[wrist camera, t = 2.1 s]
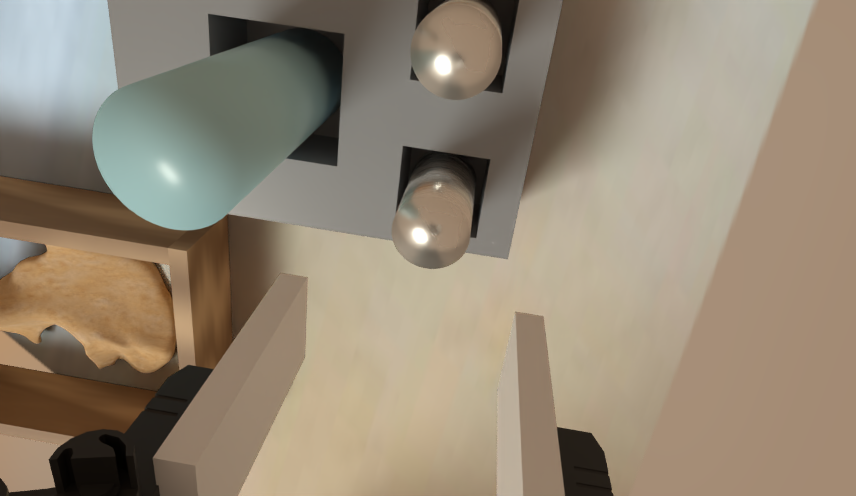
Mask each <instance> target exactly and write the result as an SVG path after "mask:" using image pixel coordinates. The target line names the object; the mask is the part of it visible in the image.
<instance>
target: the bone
mask: <svg viewBox="0 0 856 496" xmlns="http://www.w3.org/2000/svg"><path fill="white" fill-rule="evenodd" d="M45 245H46V244H45ZM46 247H47V252H45V253H43V254H41V255H38V256H33V257H28V258H26V259H24V260H22V261H20V262H19V263H18V264H17V265H16V266H15V268H14V270H13V271H12V272H10V273H9V274H7V275H6V276H4V277H3V278H2V279H0V331H6V332H12V333H17V334H21V335H23V336H25V337H27V338H28V339H29V340H30V341H32V342H33V343H36V344H39V343H40V342H41V337H40V335H41V333H42V332H43V330H44V329H46V328H47V327H49V326H51V325H54V324H56V325H58V326H60V327H62V328H64V329H65V330H67V331H68V332H69V333H71V334H72V335H73V336H74V337H75V338H76V339H77V340H78V341H79V342H80V343H81V344H82V345H83V346H84V348H85V352H86V355H87V356H88V357H89V358H90V359H91V360H92V361H93V362H94V363H95V364H96V366H97V367H98V368H99V369H102V368H104V367H106V366H110V365H114V364H115V361H116V360H117V359H124V360H125V361H127V362H128V363H129V364H130V365H131V366H132V367H133V368H134V369H136V370H137V371H139V372H142V373H152V372H154V371H157V370H159V369H160V368H161V367H162V366H164V365H165V364H166V363H168V362H169V361H170V360H171V358H172V357H173V354H174V351H175V346H176V330H175V319H174V308H173V299H172V297H171V295H170V293H169V291H168V290H167V288H166V286H165V284H164V282H163V279H162V277H161V275H160V273H159V271H158V269H157V267H156V266H155V265H154V264H153V262H149V261H143V260H137V259H131V258H125V257H119V256H113V255H107V254H101V253H94V252H88V251H82V250H76V249H70V248H64V247H58V246H52V245H46Z"/></svg>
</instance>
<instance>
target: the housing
mask: <svg viewBox="0 0 856 496" xmlns="http://www.w3.org/2000/svg"><path fill="white" fill-rule="evenodd" d="M444 1H445V0H108V8H109V17H110V25H111V33H112V41H113V50H114V58H115V66H116V74H117V83H118V89H120V88H122V87H124V86H127V85H129V84H132V83H135V82H138V81H141V80H143V79H146V78H149V77H152V76H155V75H158V74H161V73H164V72H167V71H169V70H172V69H175V68H178V67H181V66H184V65H187V64H190V63H192V62H195V61H198V60H201V59H204V58H207V57H210V56H213V55H215V54H218V53H221V52H224V51H227V50H230V49H233V48H236V47H238V46H241V45H244V44H247V43H250V42H253V41H256V40H259V39H261V38H264V37H267V36H270V35H273V34H276V33H279V32H282V31H284V30H287V29H292V28H306V29H311V30H314V31H317V32H319V33H321V34H323V35H324V36H326V37H327V38H328V39H329V40H331V41H332V42H333V43H334V44H335V45H336V47H337V48H338V49H339V51H340V52H341V54H342V56H343V70H342V89H341V106H340V107H339V108H338V109H337V110H336V111H335V112H334V113H333V114H332V115H331V116H330V117H329V118H328V119H327V120H326V121H325V122H324V123H323V124H322V125H321V126H320V127H318V128H317V129H316V130H315V131H314V132H313V133H312V134H311V135H310V136H309V137H308V138H307V139H306V140H305V141H304V142H303V143H302V144H301V145H299V146H298V147H297V148H296V149H295V150H294V151H293V152H292V153H291V154H290V155H289V156H288V157H287V158H286V159H285V160H284V161H283V162H282V163H280V164H279V165H278V166H277V167H276V168H275V169H274V170H273V171H272V172H271V173H270V174H269V175H268V176H267V177H266V178H265V179H264V180H263V181H261V182H260V183H259V184H258V185H257V186H256V187H255V188H254V189H253V190H252V191H251V192H250V193H249V194H248V195H247V196H246V197H245V198H244V199H242V200H241V201H240V202H239V203H238V204H237V205H236V206H235V207H234V208H233V209H232V210H231V211H230V212H229V213H228V214H231V215H237V216H243V217H249V218H255V219H262V220H268V221H274V222H280V223H286V224H292V225H299V226H305V227H311V228H317V229H323V230H330V231H336V232H342V233H348V234H354V235H361V236H367V237H373V238H379V239H385V240H392V241H393V239H392V223H393V220H394V217H395V215H396V212H397V210H398V207H399V205H400V202H401V200H402V197H403V195H404V192H405V190H406V187H407V185H408V183H409V180H410V178H411V175H412V173H413V170H414V168H415V166H416V164H417V162H418V161H419V159H420V158H421V157H422V156H424V155H425V154H426V153H428V152H430V151H440V152H446V153H453V154H459V155H464V156H465V157H466V158H467V159H468V160H469V161H470V162H471V164H472V166H473V168H474V170H475V174H476V187H475V196H474V205H473V215H472V224H471V234H470V241H469V245H468V248H467V250H466V251H465V252H466V253H472V254H478V255H484V256H491V257H497V258H503V259H508V256H509V251H510V246H511V242H512V237H513V232H514V228H515V223H516V218H517V214H518V209H519V204H520V200H521V195H522V190H523V185H524V181H525V176H526V171H527V167H528V162H529V157H530V153H531V148H532V143H533V139H534V134H535V129H536V125H537V120H538V115H539V110H540V106H541V101H542V96H543V92H544V87H545V82H546V78H547V73H548V68H549V64H550V59H551V54H552V49H553V45H554V40H555V35H556V31H557V26H558V21H559V17H560V12H561V7H562V3H563V0H487V1H489V2H490V3H491V4H492V5H493V7H494V8H495V9H496V11H497V13H498V15H499V17H500V21H501V27H502V59H501V64H500V68H499V70H498V73H497V75H496V77H495V78H494V80H493V81H492V83H491V84H490V85H489V86H488V87H487V88H486V89H485V90H484V91H482V92H481V93H479V94H478V95H476V96H473V97H471V98H468V99H463V100H449V99H444V98H441V97H438V96H436V95H435V94H433V93H431V92H430V91H428V90H427V89H426V88H425V87H424V86H423V85H422V84H421V82H420V81H419V80H418V78H417V76H416V74H415V72H414V70H413V67H412V63H411V55H410V50H411V42H412V38H413V35H414V33H415V30H416V29H417V27H418V25H419V24H420V22H421V21H422V20H423V19H424V18H425V17H426V16H427V15H428V14H429V13H430V12H432V11H433V10H434V9H435V8H436V7H438V6H439V5H440V4H441V3H443V2H444Z"/></svg>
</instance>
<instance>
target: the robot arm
mask: <svg viewBox="0 0 856 496" xmlns="http://www.w3.org/2000/svg"><path fill="white" fill-rule="evenodd" d="M307 282H308V277H303V276H297V275H291V274H285V273H280V274H279V276H278V277H277V279H276V280H275V281H274V283H273V284H272V286H271V287H270V289H269V290H268V292H267V293H266V295H265V296H264V297H263V299H262V300H261V302H260V303H259V305H258V306H257V308H256V309H255V310H254V312H253V313H252V315H251V316H250V318H249V319H248V321H247V322H246V323H245V325H244V326H243V328H242V329H241V331H240V332H239V334H238V335H237V337H236V338H235V339H234V341H233V342H232V344H231V345H230V347H229V348H228V350H227V351H226V352H225V354H224V355H223V357H222V358H221V360H220V361H219V363H218V364H217V365H216V367H215V368H214V369H210V368H204V367H199V366H193V365H187V366H185V367H184V368H182V369H181V370H179V371H178V372H176V373H175V374H173V375H172V376H170V377H168V379H167V380H166V381H165V382H164V384H163V385H162V386H161V388H160V389H159V390H158V391H157V393H156V394H155V397H153V398H152V399H151V400H150V402H149V403H148V404H147V405H146V407H145V410H144V411H142V412H141V413H140V414H139V416H138V417H137V418H136V419H135V421H134V422H133V423H132V424H131V426H130V427H129V428H128V430H127V431H126V432H125V433H122V432H120V431H118V430H108V429H100V430H94V431H88V432H85V433H83V434H80V435H78V436H75V437H73V438H71V439H69V440H68V441H67V442H65V443H64V444H62V445H61V446H60V447H58V448H57V450H56V451H55V452H54V453H53V455H52V456H51V457H50V459H49V463H50V466H51V471H52V475H53V478H54V482H55V488H49V489H40V490H30V491H20V492H10V493H9V492H8V488H7V486H6V485H5V483H4V482H3V481H2V479H1V478H0V496H238V494H239V492H240V490H241V488H242V486H243V484H244V482H245V480H246V478H247V476H248V474H249V472H250V469H251V467H252V465H253V463H254V461H255V459H256V457H257V455H258V453H259V451H260V449H261V447H262V445H263V443H264V441H265V439H266V436H267V434H268V432H269V430H270V428H271V426H272V424H273V422H274V420H275V418H276V416H277V414H278V412H279V410H280V408H281V406H282V403H283V401H284V399H285V397H286V395H287V393H288V391H289V389H290V387H291V385H292V383H293V381H294V379H295V377H296V375H297V373H298V371H299V368H300V366H301V364H302V362H303V360H304V358H305V344H306V313H307ZM611 490H612V487H611V483H610V478H609V476H608V468H607V463H606V459H605V454H604V451H603V450H602V448H601V447H600V445H599V444H598V442H597V441H596V439H595V438H594V436H593V435H592V433H588V432H582V431H576V430H570V429H565V428H559V427H557V425H556V417H555V408H554V400H553V392H552V383H551V375H550V367H549V358H548V350H547V342H546V333H545V325H544V317H543V316H539V315H533V314H527V313H521V312H515V315H514V320H513V324H512V328H511V333H510V337H509V341H508V346H507V350H506V354H505V359H504V363H503V367H502V372H501V376H500V380H499V385H498V389H497V496H613V493H612V492H611Z"/></svg>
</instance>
